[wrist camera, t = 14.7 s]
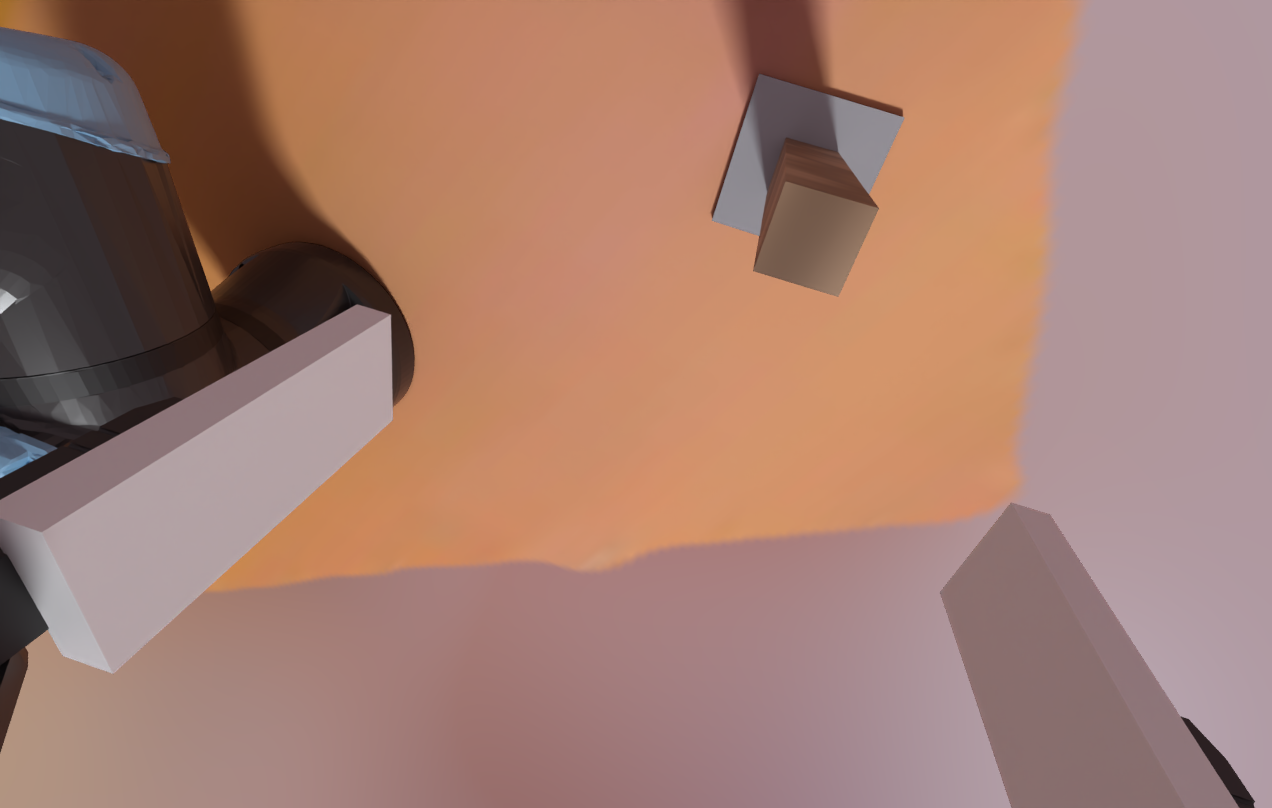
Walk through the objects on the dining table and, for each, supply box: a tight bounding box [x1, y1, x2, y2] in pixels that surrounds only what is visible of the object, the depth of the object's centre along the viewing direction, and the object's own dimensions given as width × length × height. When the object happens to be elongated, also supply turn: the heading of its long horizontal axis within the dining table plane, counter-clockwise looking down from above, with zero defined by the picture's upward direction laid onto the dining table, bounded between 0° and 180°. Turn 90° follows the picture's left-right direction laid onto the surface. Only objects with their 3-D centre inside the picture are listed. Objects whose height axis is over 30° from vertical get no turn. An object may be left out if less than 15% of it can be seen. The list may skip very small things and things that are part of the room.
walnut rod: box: [753, 137, 879, 297], centre depth 25 cm, size 3×3×16 cm
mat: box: [712, 74, 904, 236], centre depth 32 cm, size 8×8×1 cm
